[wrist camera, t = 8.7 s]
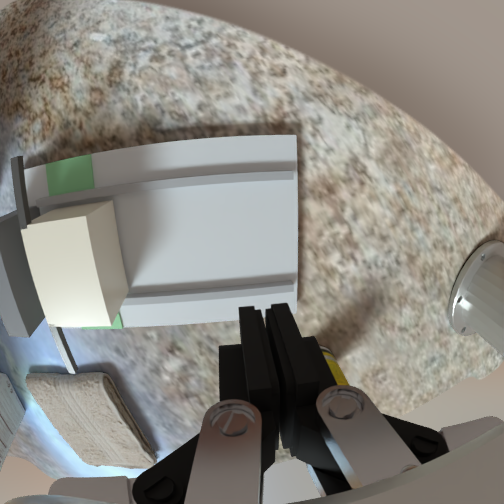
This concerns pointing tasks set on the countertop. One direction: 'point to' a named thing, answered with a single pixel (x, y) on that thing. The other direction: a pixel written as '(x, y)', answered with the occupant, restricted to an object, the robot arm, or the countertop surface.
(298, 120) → the countertop surface
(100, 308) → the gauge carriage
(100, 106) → the countertop surface
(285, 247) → the board
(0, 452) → the supplement box
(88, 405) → the washcloth
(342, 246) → the countertop surface
